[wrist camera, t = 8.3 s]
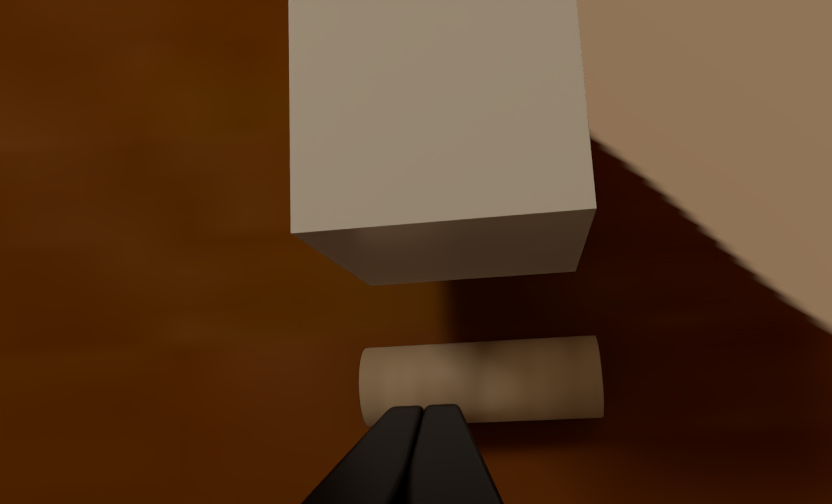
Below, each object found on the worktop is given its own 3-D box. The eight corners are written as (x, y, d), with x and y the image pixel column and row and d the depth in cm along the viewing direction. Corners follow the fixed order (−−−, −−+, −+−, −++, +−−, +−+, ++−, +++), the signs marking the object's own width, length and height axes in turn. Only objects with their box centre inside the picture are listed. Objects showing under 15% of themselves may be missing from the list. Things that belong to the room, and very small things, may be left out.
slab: (575, 271, 17) (596, 208, 11) (370, 285, 18) (291, 232, 12) (554, 39, 18) (563, -125, 13) (363, 62, 19) (288, -84, 13)
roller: (605, 432, 17) (596, 395, 19) (601, 354, 17) (592, 323, 18) (365, 441, 18) (379, 404, 20) (355, 367, 17) (370, 336, 19)
